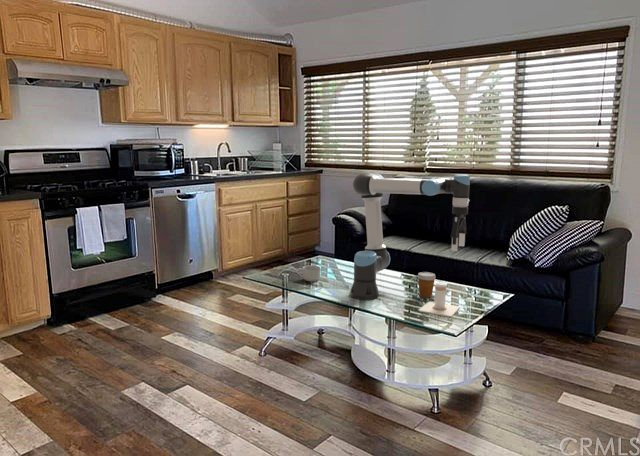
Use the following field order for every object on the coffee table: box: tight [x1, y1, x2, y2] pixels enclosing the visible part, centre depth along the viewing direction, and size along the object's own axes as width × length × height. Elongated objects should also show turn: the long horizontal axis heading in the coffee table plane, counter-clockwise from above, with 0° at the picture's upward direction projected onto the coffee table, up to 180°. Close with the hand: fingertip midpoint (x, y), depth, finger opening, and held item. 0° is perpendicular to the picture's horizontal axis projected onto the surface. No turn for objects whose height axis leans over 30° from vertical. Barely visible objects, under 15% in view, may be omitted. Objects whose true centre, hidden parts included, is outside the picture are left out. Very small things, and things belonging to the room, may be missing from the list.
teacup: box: [296, 264, 322, 283], centre depth 291 cm, size 14×11×8 cm
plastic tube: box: [434, 282, 447, 310], centre depth 240 cm, size 5×5×12 cm
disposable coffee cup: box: [417, 271, 437, 298], centre depth 262 cm, size 10×10×12 cm
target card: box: [418, 300, 461, 318], centre depth 241 cm, size 16×16×1 cm
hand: (458, 248), depth 245 cm, fingers open, 13 cm apart
